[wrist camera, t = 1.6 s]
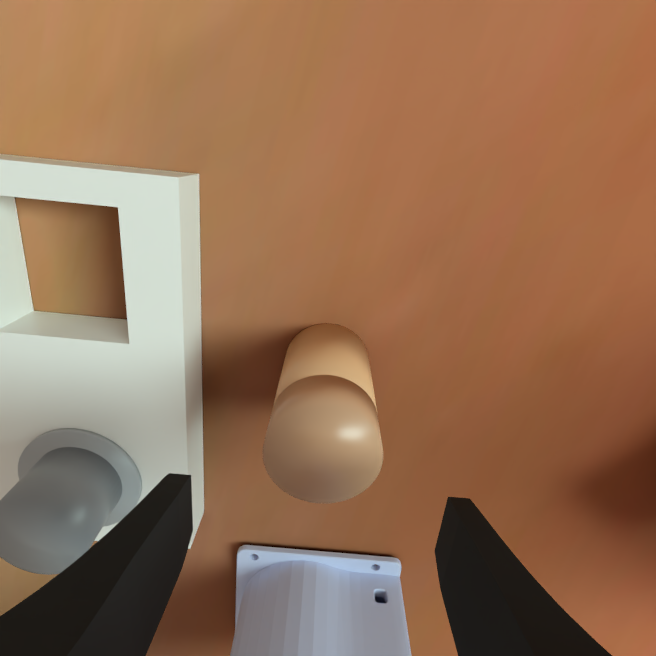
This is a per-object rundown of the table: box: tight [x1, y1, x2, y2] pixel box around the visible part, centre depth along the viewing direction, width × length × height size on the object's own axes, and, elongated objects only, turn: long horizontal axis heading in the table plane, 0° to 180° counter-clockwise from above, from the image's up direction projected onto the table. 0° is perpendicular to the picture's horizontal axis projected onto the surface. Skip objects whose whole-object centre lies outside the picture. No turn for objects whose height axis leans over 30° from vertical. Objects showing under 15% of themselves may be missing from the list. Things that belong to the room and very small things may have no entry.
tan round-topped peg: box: [263, 323, 383, 503], centre depth 18 cm, size 4×4×7 cm
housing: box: [0, 154, 204, 574], centre depth 18 cm, size 10×18×6 cm, turn 175°
